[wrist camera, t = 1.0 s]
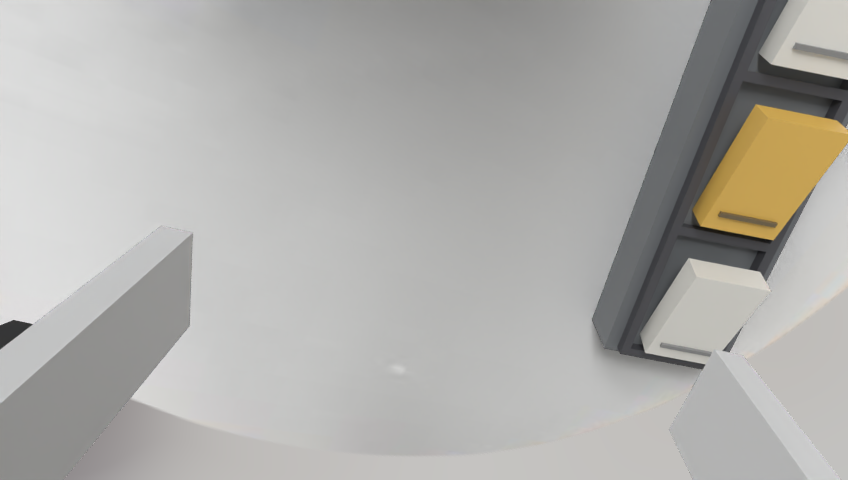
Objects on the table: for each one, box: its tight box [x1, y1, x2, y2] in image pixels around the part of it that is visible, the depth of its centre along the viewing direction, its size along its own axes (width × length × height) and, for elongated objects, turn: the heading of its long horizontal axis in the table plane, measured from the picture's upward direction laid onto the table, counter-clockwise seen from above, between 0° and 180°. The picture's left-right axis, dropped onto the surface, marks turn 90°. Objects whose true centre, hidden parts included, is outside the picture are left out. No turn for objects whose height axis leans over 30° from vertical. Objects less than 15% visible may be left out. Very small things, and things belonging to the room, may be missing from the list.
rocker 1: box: [640, 258, 771, 364], centre depth 36 cm, size 8×5×2 cm, turn 169°
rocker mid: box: [692, 104, 848, 240], centre depth 32 cm, size 8×5×2 cm, turn 169°
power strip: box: [592, 0, 848, 369], centre depth 34 cm, size 34×9×5 cm, turn 170°
